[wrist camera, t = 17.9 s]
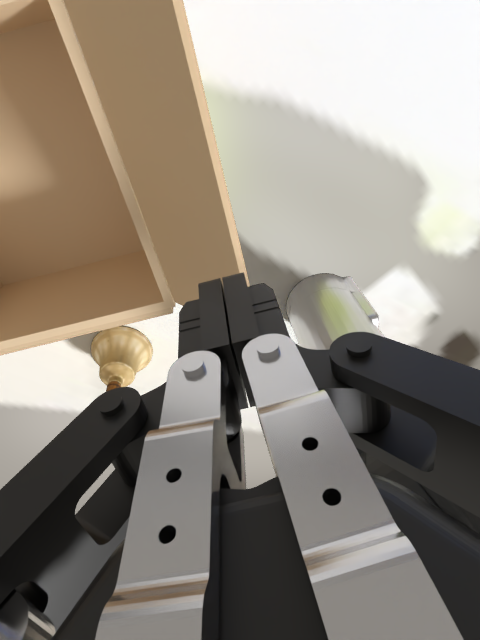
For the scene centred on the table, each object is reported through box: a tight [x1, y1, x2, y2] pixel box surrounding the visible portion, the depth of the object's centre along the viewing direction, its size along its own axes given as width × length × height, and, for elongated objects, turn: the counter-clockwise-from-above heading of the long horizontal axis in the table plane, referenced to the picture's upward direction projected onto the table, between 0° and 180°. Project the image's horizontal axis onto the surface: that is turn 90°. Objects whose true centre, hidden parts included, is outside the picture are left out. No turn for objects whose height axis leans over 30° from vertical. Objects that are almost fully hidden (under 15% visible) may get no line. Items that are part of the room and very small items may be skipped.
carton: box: [0, 0, 175, 355], centre depth 37 cm, size 22×25×14 cm
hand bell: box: [91, 327, 153, 392], centre depth 50 cm, size 8×8×16 cm
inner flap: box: [64, 0, 250, 306], centre depth 27 cm, size 10×23×1 cm
